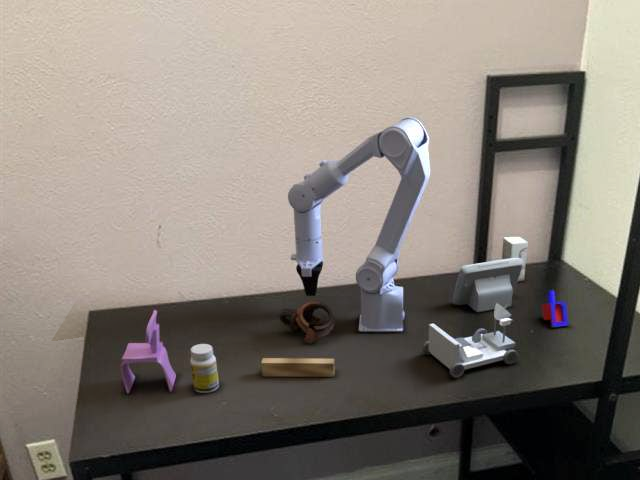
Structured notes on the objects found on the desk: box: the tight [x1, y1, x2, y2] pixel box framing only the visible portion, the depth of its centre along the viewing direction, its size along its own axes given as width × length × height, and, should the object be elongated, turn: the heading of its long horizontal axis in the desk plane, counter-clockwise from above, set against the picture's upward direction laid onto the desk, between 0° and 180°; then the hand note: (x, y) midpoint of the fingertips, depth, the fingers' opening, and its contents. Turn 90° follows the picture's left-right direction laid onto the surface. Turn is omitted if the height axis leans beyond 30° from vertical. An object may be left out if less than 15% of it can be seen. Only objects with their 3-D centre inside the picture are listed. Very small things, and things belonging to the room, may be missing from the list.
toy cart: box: [421, 303, 519, 379], centre depth 156 cm, size 18×10×12 cm
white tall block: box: [501, 235, 529, 283], centre depth 192 cm, size 5×4×10 cm
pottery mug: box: [278, 301, 336, 345], centre depth 166 cm, size 12×10×8 cm
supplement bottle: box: [189, 343, 220, 394], centre depth 146 cm, size 5×5×8 cm
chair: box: [120, 309, 177, 394], centre depth 146 cm, size 8×9×15 cm
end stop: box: [260, 357, 336, 378], centre depth 152 cm, size 14×2×3 cm, turn 88°
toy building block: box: [541, 289, 569, 328], centre depth 171 cm, size 4×4×8 cm
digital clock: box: [451, 258, 523, 313], centre depth 178 cm, size 16×9×11 cm, turn 99°
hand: (311, 294), depth 175 cm, fingers closed
